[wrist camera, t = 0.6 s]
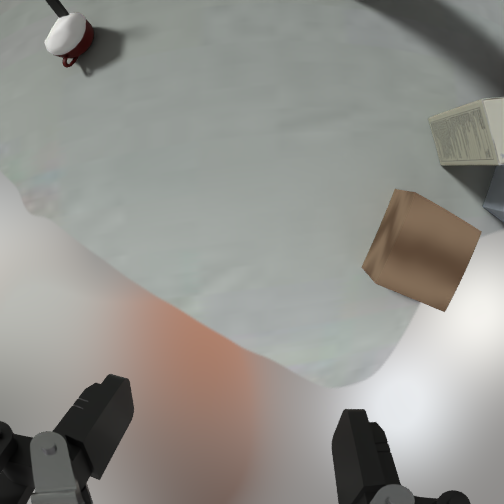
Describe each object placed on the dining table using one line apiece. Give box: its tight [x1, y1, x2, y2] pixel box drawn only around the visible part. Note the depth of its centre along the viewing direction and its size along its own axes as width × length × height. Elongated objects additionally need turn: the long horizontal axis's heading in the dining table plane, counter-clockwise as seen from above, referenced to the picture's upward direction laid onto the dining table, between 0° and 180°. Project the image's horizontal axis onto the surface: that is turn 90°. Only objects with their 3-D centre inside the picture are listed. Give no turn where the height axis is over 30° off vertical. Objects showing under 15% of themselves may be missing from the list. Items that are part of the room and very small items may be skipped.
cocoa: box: [45, 0, 94, 67], centre depth 25 cm, size 10×6×12 cm, turn 156°
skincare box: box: [428, 97, 504, 166], centre depth 25 cm, size 6×4×12 cm
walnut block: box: [362, 189, 481, 312], centre depth 32 cm, size 10×10×6 cm
